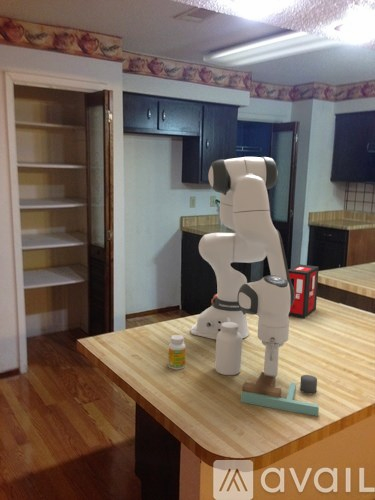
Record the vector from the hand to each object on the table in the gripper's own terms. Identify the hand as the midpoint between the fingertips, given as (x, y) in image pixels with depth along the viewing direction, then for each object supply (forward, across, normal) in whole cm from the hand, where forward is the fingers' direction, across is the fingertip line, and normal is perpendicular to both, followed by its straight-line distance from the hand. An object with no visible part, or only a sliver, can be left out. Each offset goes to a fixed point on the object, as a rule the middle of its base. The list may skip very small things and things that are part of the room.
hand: (270, 377), depth 129 cm
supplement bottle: (+2, +4, +30) cm, 30 cm away
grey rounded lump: (+2, -2, -11) cm, 11 cm away
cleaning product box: (+2, +73, -11) cm, 74 cm away
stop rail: (+2, -9, -3) cm, 10 cm away
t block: (+2, -7, +2) cm, 7 cm away
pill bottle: (+2, +5, +13) cm, 14 cm away
